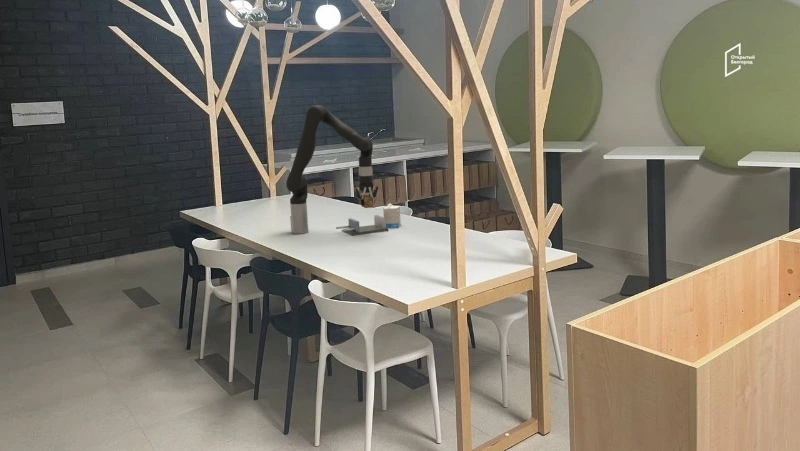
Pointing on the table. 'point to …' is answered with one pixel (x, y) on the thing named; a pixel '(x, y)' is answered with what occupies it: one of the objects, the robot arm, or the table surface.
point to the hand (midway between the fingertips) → (366, 205)
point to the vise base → (371, 227)
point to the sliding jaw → (351, 225)
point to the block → (367, 201)
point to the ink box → (392, 216)
